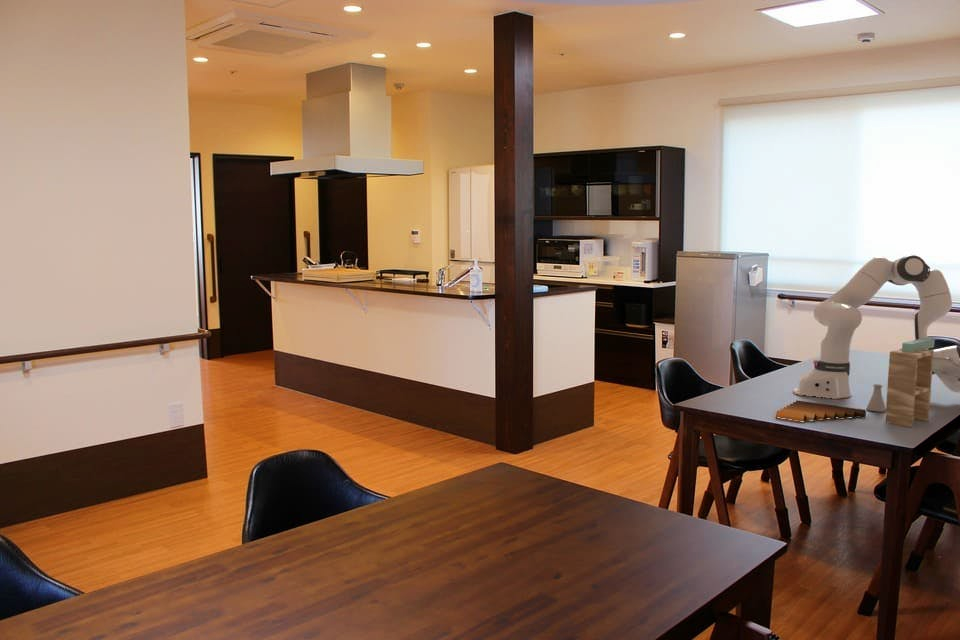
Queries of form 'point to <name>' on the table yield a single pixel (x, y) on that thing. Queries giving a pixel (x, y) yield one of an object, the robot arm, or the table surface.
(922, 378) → the rack
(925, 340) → the mint green bar
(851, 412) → the pan flute
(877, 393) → the flask
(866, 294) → the robot arm
